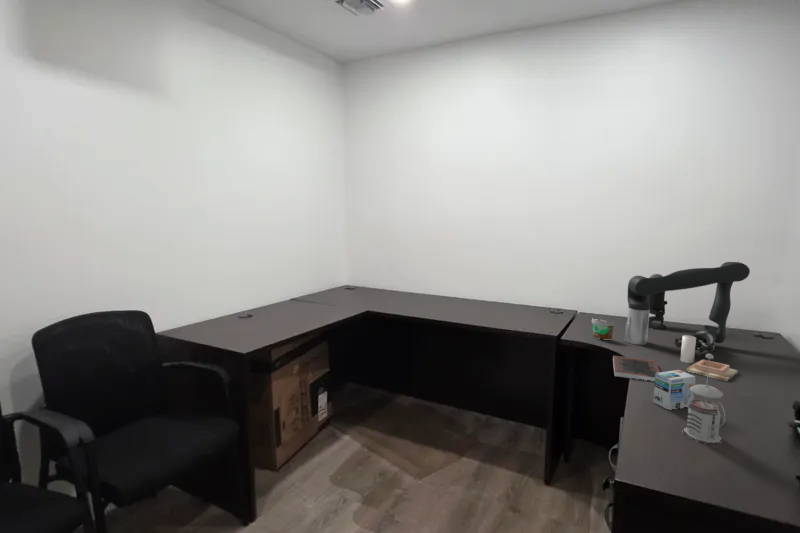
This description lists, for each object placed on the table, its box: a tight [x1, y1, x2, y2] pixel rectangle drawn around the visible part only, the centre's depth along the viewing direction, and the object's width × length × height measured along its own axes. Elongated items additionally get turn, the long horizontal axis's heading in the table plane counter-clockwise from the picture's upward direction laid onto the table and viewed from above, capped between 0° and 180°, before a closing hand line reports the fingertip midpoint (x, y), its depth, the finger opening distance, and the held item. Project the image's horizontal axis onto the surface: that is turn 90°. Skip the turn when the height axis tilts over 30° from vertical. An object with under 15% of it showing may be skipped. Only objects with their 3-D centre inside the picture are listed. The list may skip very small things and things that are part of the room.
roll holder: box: [685, 358, 739, 382], centre depth 180 cm, size 14×14×3 cm
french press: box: [683, 353, 726, 442], centre depth 128 cm, size 10×12×25 cm
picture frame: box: [612, 355, 661, 382], centre depth 183 cm, size 16×2×22 cm
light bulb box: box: [653, 369, 696, 411], centre depth 150 cm, size 11×7×11 cm, turn 106°
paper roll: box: [680, 335, 696, 364], centre depth 192 cm, size 5×5×11 cm
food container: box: [591, 316, 616, 340], centre depth 226 cm, size 12×6×10 cm, turn 25°
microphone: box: [647, 273, 668, 330], centre depth 247 cm, size 13×12×30 cm
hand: (688, 347), depth 192 cm, fingers open, 8 cm apart
